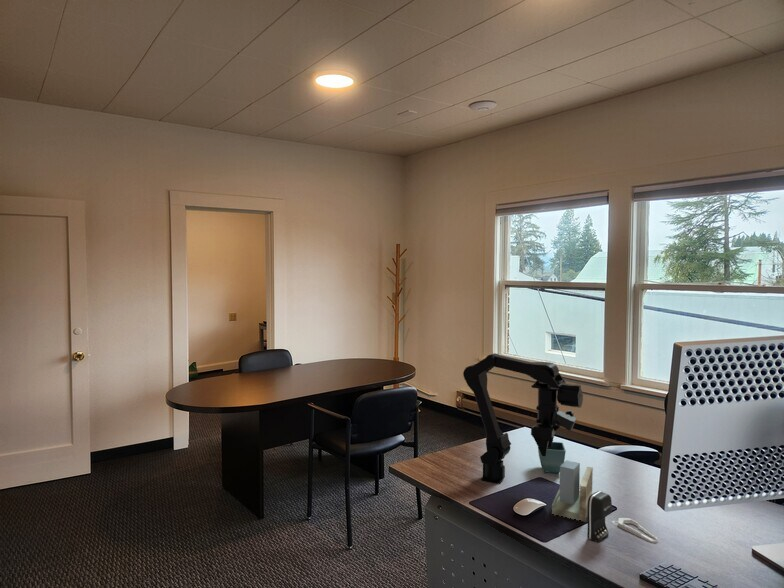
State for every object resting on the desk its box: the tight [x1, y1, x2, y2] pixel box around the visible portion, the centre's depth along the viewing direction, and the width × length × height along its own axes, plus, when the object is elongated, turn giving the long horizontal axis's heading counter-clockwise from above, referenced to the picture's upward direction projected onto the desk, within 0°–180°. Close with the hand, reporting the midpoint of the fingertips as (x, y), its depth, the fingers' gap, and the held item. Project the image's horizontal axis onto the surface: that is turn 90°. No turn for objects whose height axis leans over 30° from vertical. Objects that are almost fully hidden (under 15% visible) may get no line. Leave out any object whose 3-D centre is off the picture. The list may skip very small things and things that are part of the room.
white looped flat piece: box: [611, 517, 659, 544], centre depth 136 cm, size 13×5×2 cm, turn 30°
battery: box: [587, 490, 613, 542], centre depth 132 cm, size 7×4×11 cm, turn 131°
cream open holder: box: [551, 466, 594, 523], centre depth 149 cm, size 9×16×10 cm, turn 152°
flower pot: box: [537, 441, 567, 474], centre depth 178 cm, size 9×9×9 cm
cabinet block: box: [559, 459, 581, 505], centre depth 150 cm, size 5×6×10 cm
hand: (546, 451), depth 160 cm, fingers open, 9 cm apart
